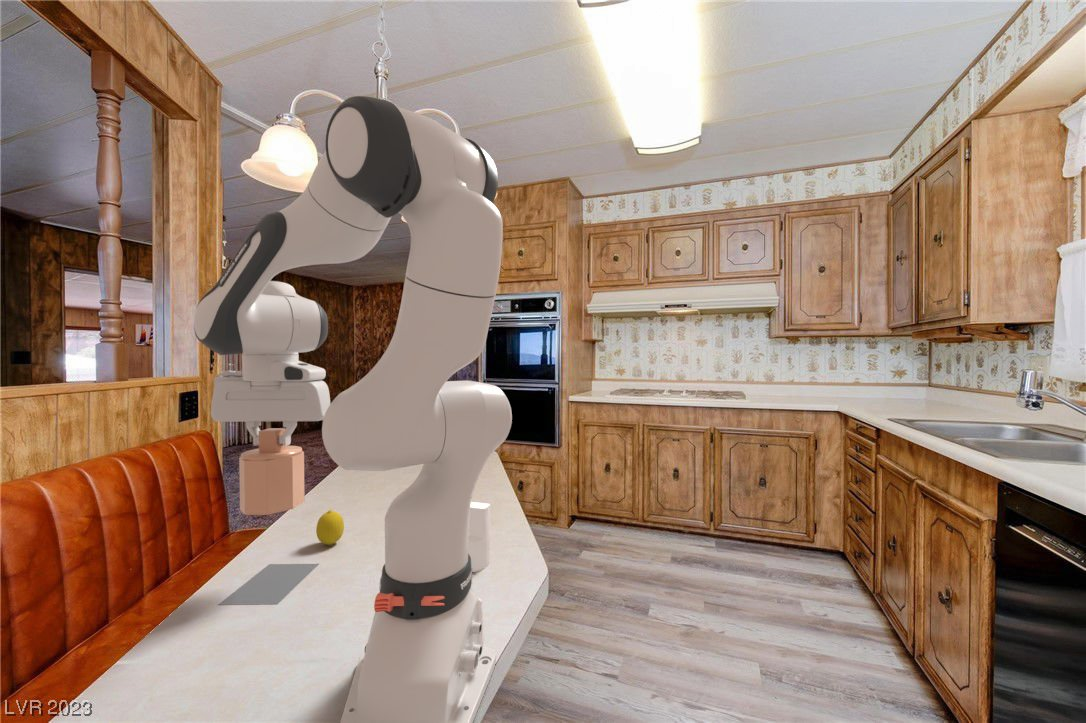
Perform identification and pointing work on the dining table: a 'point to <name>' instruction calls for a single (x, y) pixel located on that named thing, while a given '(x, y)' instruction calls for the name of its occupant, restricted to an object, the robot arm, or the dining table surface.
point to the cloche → (271, 476)
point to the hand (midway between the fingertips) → (272, 445)
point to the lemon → (330, 527)
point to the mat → (270, 585)
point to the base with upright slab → (479, 535)
